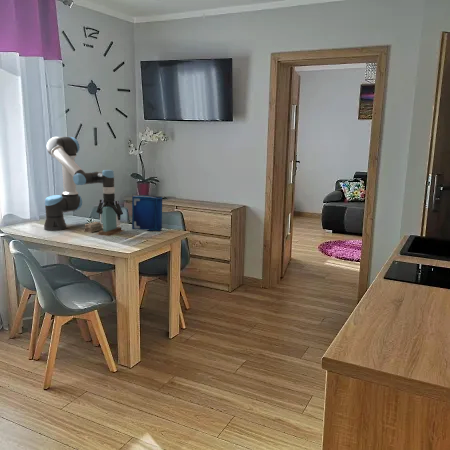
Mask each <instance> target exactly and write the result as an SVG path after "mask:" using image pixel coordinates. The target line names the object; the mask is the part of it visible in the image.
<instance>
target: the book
mask: <svg viewBox="0 0 450 450" xmlns="http://www.w3.org/2000/svg"><path fill="white" fill-rule="evenodd" d="M131 201H132V202H131V206H132V207H131V212H132V213H131V214H132V215H131V218H132V219H131V229H132V230H143V231H144V230H146V231H147V232H155V231H156V232H160V231H162V229H163V197H162V196H155V195H145V194H134V195H132V199H131Z"/></svg>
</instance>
